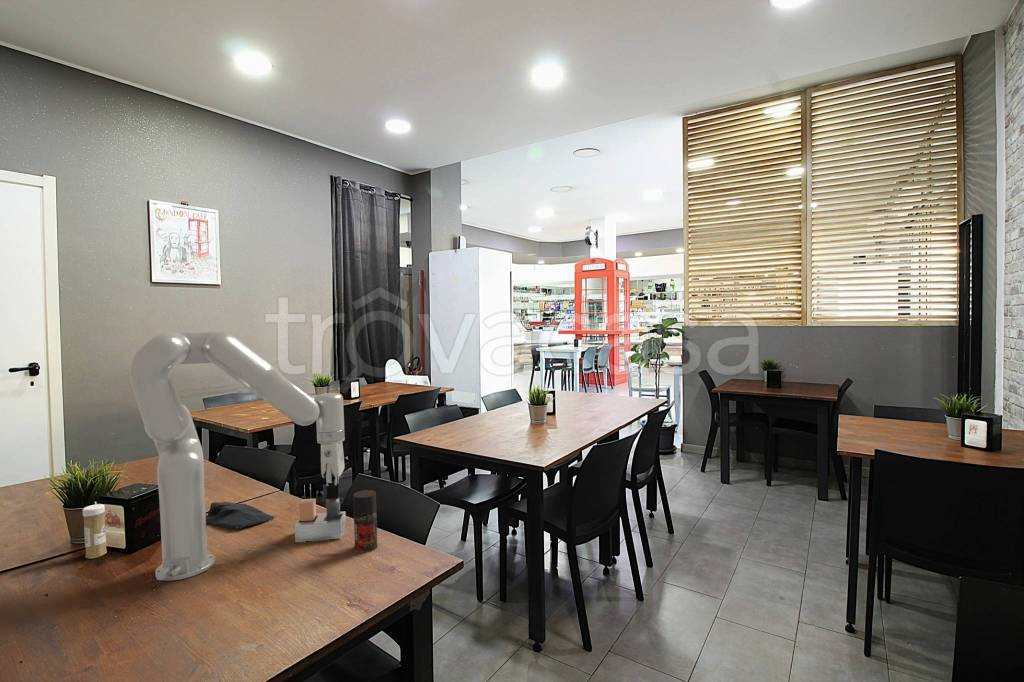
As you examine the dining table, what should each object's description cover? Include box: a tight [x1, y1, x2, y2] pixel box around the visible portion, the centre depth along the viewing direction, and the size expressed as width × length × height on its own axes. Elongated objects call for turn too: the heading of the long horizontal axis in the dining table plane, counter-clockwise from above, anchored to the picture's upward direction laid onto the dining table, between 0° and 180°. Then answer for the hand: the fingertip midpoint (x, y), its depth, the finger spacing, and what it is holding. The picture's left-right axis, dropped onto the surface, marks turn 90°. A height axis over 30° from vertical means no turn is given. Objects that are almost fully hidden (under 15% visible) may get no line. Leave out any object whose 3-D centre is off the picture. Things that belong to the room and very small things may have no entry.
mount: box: [294, 511, 347, 543], centre depth 144 cm, size 8×12×6 cm, turn 99°
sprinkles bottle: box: [82, 503, 108, 560], centre depth 134 cm, size 5×5×13 cm
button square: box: [299, 497, 317, 521], centre depth 144 cm, size 4×4×5 cm
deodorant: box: [352, 489, 378, 554], centre depth 136 cm, size 6×6×15 cm
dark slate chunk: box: [206, 501, 275, 530], centre depth 158 cm, size 15×22×5 cm
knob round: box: [325, 496, 341, 519], centre depth 145 cm, size 4×4×5 cm
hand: (333, 497), depth 145 cm, fingers closed
